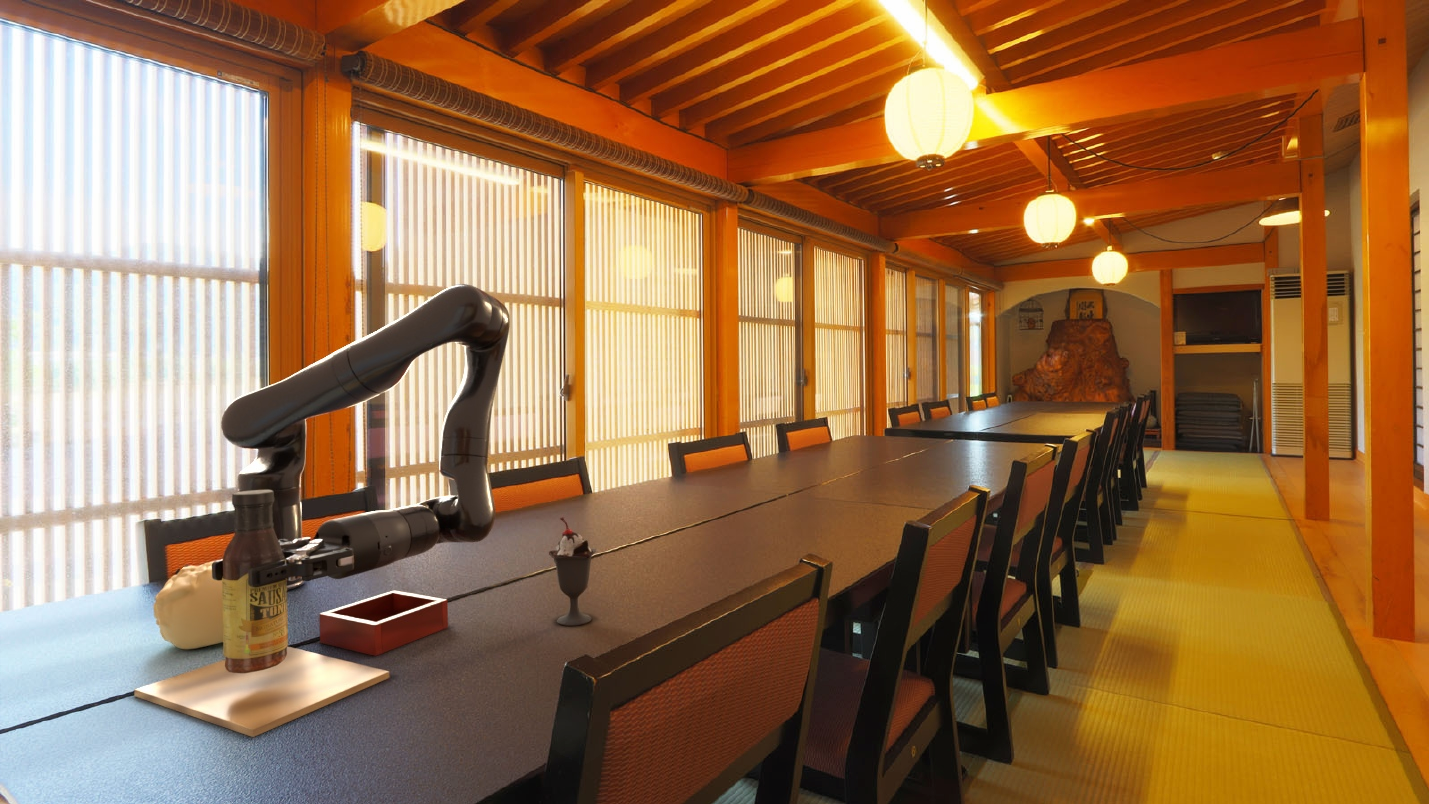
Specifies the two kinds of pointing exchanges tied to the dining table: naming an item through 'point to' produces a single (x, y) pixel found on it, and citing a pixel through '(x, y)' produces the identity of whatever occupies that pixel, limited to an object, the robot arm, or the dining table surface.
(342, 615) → the holder
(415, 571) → the dining table surface
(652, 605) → the dining table surface
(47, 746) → the dining table surface
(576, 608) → the sundae
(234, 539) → the sauce bottle
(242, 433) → the robot arm
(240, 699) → the mat
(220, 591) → the tan rounded lump
